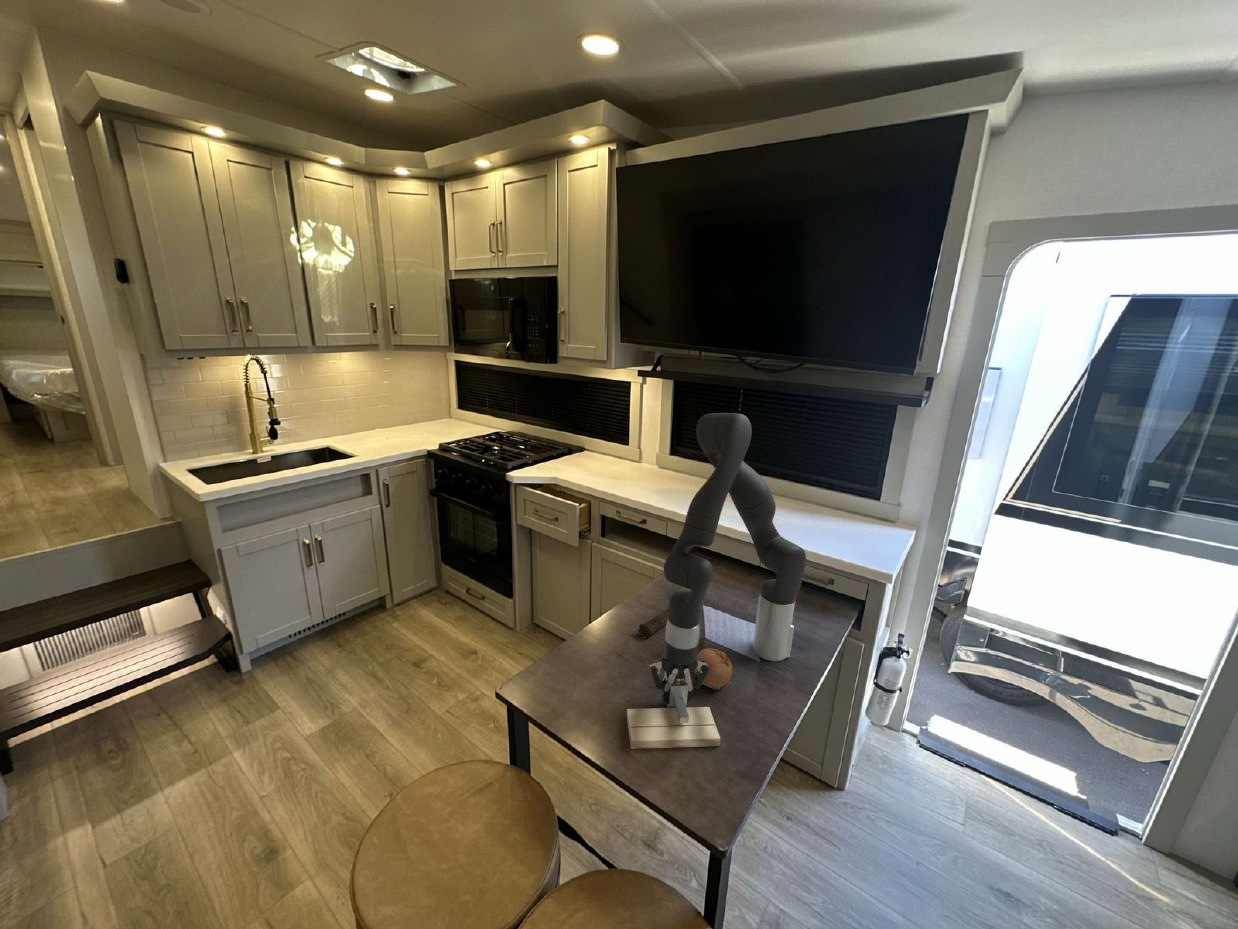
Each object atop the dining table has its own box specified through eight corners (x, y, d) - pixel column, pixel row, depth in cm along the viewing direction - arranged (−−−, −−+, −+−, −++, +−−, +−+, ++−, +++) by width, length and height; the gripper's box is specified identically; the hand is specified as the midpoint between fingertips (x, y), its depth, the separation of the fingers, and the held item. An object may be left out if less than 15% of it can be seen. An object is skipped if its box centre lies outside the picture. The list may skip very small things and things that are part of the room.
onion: (724, 692, 125) (746, 664, 122) (706, 702, 117) (729, 672, 115) (698, 662, 130) (719, 635, 127) (679, 670, 123) (701, 641, 120)
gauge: (682, 699, 117) (684, 671, 115) (691, 732, 107) (695, 702, 105) (665, 699, 116) (668, 671, 114) (674, 732, 107) (676, 702, 105)
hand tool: (648, 641, 139) (649, 626, 138) (637, 634, 142) (638, 620, 141) (688, 616, 152) (689, 603, 151) (678, 611, 155) (679, 598, 154)
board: (708, 714, 113) (709, 706, 113) (719, 746, 104) (720, 738, 104) (626, 716, 111) (627, 708, 111) (631, 749, 103) (631, 741, 102)
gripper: (708, 627, 114) (701, 689, 119) (648, 628, 113) (643, 691, 117) (717, 647, 107) (709, 712, 111) (653, 648, 105) (648, 714, 110)
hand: (675, 701), depth 114 cm, fingers closed on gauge, 4 cm apart
